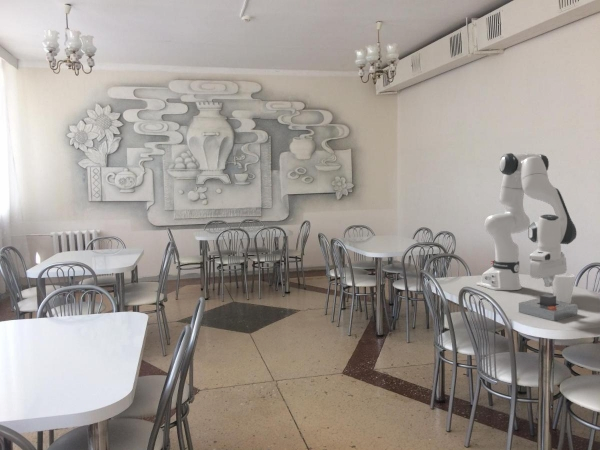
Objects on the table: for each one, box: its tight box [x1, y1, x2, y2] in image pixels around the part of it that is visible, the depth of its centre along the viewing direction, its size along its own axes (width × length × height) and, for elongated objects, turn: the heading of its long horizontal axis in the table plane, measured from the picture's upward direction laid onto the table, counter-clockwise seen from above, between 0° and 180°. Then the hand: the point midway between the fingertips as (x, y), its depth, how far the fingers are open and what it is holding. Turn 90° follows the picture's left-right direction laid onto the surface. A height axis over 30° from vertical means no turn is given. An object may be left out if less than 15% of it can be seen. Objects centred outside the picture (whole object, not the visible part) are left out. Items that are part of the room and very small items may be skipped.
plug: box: [539, 293, 556, 306], centre depth 204 cm, size 4×4×8 cm
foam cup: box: [551, 272, 576, 304], centre depth 218 cm, size 10×9×13 cm
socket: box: [518, 297, 579, 322], centre depth 204 cm, size 16×16×5 cm
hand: (548, 286), depth 203 cm, fingers closed
